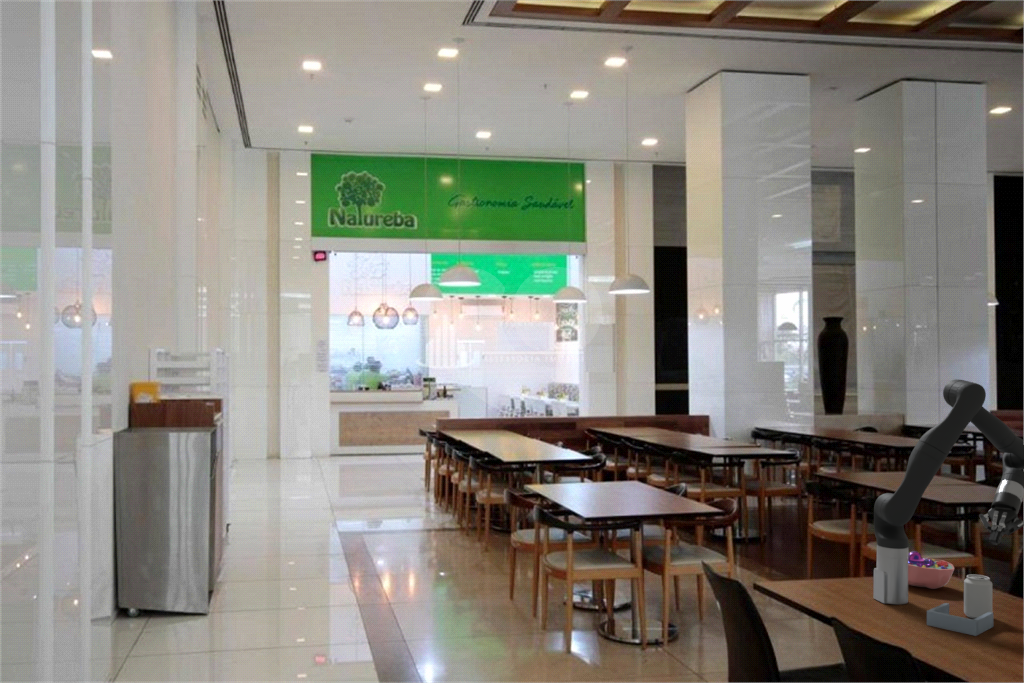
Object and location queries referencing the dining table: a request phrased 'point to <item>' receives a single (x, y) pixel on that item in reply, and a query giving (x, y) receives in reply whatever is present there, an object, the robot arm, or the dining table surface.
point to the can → (977, 595)
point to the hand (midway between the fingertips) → (993, 543)
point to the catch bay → (958, 621)
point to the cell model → (928, 571)
